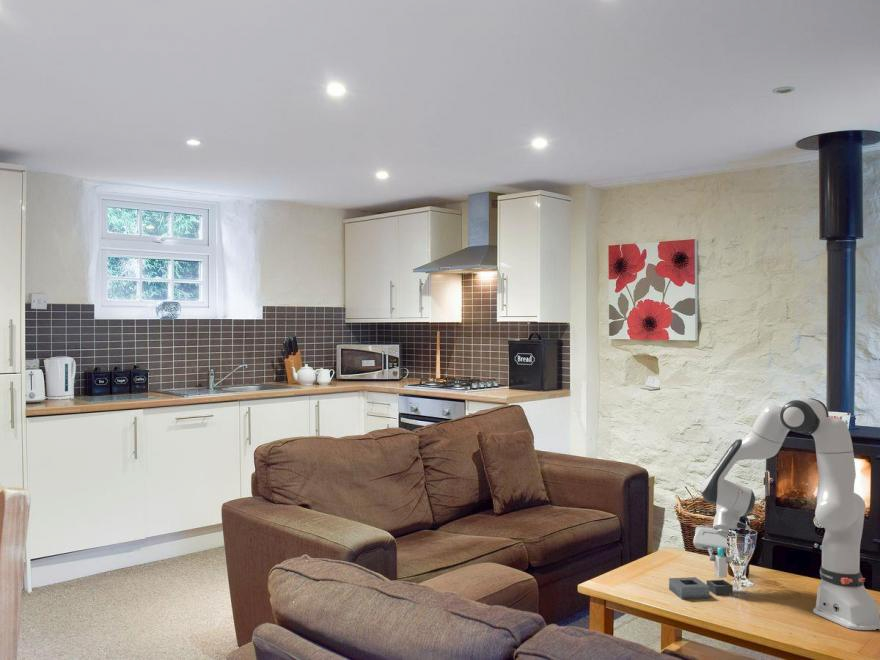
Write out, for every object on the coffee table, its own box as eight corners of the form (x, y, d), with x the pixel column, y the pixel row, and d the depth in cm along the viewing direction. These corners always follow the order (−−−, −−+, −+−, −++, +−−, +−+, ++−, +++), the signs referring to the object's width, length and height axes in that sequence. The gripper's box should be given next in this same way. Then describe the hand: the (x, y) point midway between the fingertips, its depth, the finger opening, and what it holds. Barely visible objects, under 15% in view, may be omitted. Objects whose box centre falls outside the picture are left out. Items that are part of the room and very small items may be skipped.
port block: (709, 598, 260) (709, 586, 260) (681, 599, 258) (682, 587, 258) (695, 588, 270) (695, 577, 270) (669, 589, 268) (669, 578, 268)
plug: (727, 577, 265) (726, 548, 265) (718, 577, 265) (718, 549, 265) (722, 574, 268) (722, 546, 268) (714, 575, 268) (714, 547, 268)
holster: (732, 594, 264) (732, 585, 264) (715, 594, 263) (715, 586, 263) (723, 588, 270) (723, 579, 270) (706, 588, 269) (706, 580, 269)
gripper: (694, 519, 278) (688, 552, 270) (754, 526, 267) (749, 560, 259) (697, 529, 282) (691, 561, 273) (756, 536, 271) (751, 570, 262)
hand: (720, 561), depth 266 cm, fingers closed on plug, 4 cm apart
